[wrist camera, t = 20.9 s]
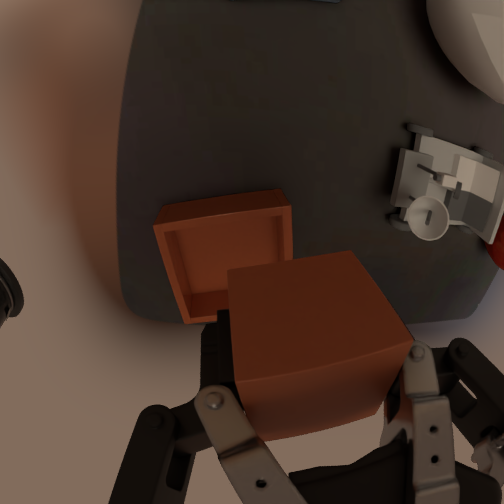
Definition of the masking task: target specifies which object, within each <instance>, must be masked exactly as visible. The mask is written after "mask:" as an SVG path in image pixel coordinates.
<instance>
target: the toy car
mask: <svg viewBox="0 0 504 504" xmlns="http://www.w3.org/2000/svg"><path fill="white" fill-rule="evenodd" d="M407 130H408V131H411V132H415V133H416V139H415V145H414V151H413V150H408V149H404V148H400V154H399V160H398V166H397V171H396V176H395V181H394V186H393V191H392V195H391V200H390V203H391V204H392V205H393V206H395V207H402V208H401V212H400V214H391V215H390V218H389V224H390V225H391V226H393V227H394V228H396V229H399V230H402V231H411V230H412V231H413V233H414V234H415V235H416V236H418V237H419V238H421V239H424V240H436V239H438V238H440V237H442V236H443V235H444V233H445V232H446V231H447V229H448V226H449V224H453V225H455V226H456V228H458V229H459V230H460V231H462V232H464V233H467V234H472V233H473V232H475V233H476V234H477V235H478V236H480V237H481V238H482V239H483V240H485V241H486V242H487V243H488V244H493V241H494V238H495V235H496V233H497V230H498V227H499V224H500V221H501V218H502V215H503V212H504V165H503V164H500V163H498V162H496V161H494V160H492V159H493V154H492V153H490V152H488V151H486V150H483V149H481V148H478V147H476V146H474V151H470V150H468V149H465V148H463V147H460V146H457V145H454V144H452V143H449V142H446V141H443V140H440V139H437V138H433V133H434V131H433V130H432V129H429V128H426V127H422V126H419V125H415V124H412V123H408V124H407Z"/></svg>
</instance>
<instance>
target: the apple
mask: <svg viewBox="0 0 504 504" xmlns="http://www.w3.org/2000/svg"><path fill="white" fill-rule="evenodd" d="M484 242H485V246H486V248H487V251H488V253H489V255H490V257H491V258H492V260H493V261H494V262H495V264H496V265H497V266H498V267H500V268H501V269H503V270H504V215H502V218H501V221H500V224H499V227H498V230H497V233H496V235H495V238H494V241H493V244H488V243H487V242H486V241H485V240H484Z"/></svg>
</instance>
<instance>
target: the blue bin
mask: <svg viewBox="0 0 504 504" xmlns="http://www.w3.org/2000/svg"><path fill="white" fill-rule="evenodd" d="M230 1H232V0H230ZM313 1H323V2H332V3H338V2H339V1H341V0H313Z"/></svg>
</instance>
